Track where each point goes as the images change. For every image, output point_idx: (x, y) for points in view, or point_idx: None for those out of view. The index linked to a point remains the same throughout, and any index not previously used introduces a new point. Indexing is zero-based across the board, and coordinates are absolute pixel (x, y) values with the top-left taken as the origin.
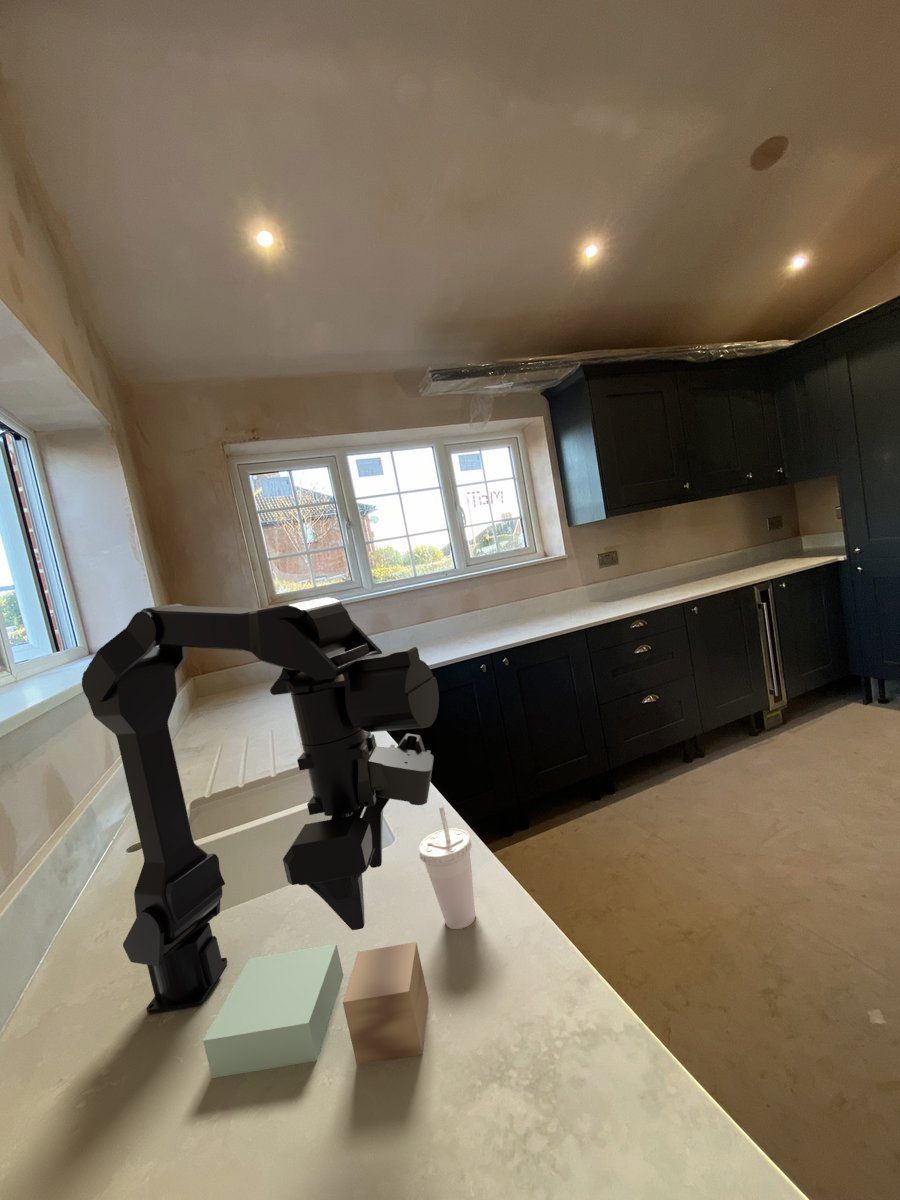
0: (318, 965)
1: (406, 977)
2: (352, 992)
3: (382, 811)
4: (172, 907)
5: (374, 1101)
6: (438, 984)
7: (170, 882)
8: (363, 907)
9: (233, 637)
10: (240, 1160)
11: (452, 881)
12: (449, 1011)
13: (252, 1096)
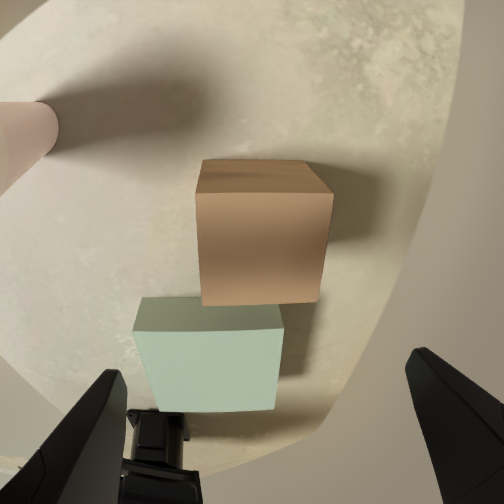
0: (176, 344)
1: (297, 202)
2: (302, 292)
3: (7, 500)
4: None
5: (348, 216)
6: (176, 145)
7: None
8: (451, 378)
9: None
10: (358, 324)
11: (11, 137)
12: (236, 122)
13: (300, 340)
